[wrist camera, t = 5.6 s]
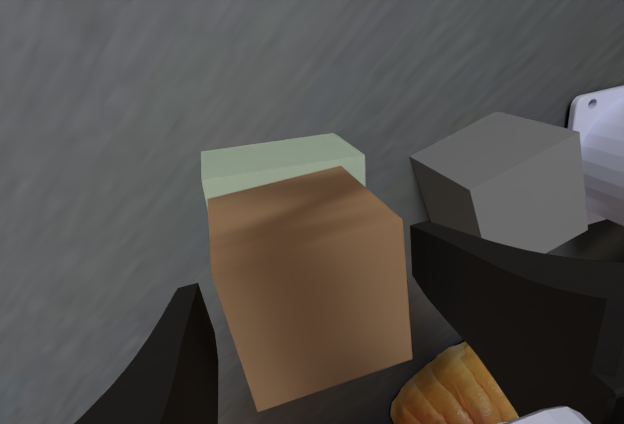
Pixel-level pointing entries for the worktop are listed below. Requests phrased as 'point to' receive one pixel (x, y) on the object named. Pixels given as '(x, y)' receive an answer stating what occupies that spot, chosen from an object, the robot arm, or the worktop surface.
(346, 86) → the worktop surface
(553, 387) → the robot arm
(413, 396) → the pastry
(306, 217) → the walnut cube
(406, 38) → the worktop surface
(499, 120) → the charcoal cube
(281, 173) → the green base block
